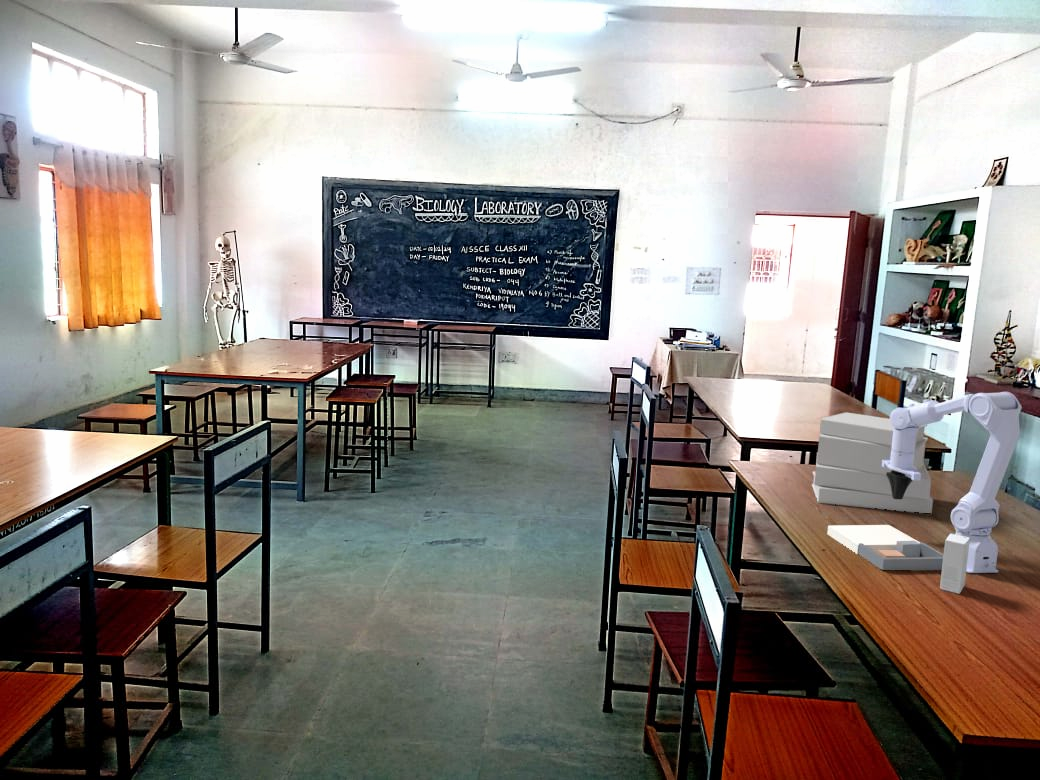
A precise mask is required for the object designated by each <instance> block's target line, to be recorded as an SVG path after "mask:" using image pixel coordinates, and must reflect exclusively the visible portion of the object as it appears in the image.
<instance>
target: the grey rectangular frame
mask: <svg viewBox="0 0 1040 780" xmlns="http://www.w3.org/2000/svg"><path fill="white" fill-rule="evenodd" d="M919 542H920V541H919ZM920 544H921V549H920V554H922V555H923V556H922V555H921V556H922V557H917V558H884V557H882V556H881V555H879V554H878V553H876V552H875V551H873V550H872V549H870V548H868V547H867V546H865V545H864V544H862V543H859V548H858V554H859V555H860V556H859V555H858V554H857V555H858V556H859V557H861V556H862V557H864V558H865V559H867V560H868V561H870V562H871V563H872V565H873V564H874V565H875V566H874V565H873V566H874V567H876V566H877V567H879V568H880V569H882V570H911V571H942V565H943V556H944V553H943V552H941V551H939V550H937V549H936V548H933V547H931V546H930V545H928V544H927V543H925V542H922V541H921V542H920ZM924 556H925V557H924ZM862 557H861V558H862ZM864 558H863V559H864ZM865 559H864V560H865ZM867 560H866V561H867ZM868 561H867V562H868ZM870 562H869V563H870ZM871 563H870V564H871ZM877 567H876V568H877ZM879 568H878V569H879ZM880 569H879V570H880ZM882 570H881V571H882Z"/></svg>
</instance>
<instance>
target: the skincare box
mask: <svg viewBox="0 0 1040 780" xmlns="http://www.w3.org/2000/svg"><path fill="white" fill-rule="evenodd" d="M955 534H956V533H949V535H947V537H946V539H945V540H944V548H943V554H944V556H943V565H942V570H941V575H940V584H939V589H940V590H943V591H946V592H950V593H953V594H958V595H959V594H961V592H962V590H963V589H964V587H965V584H966V576H967V575H966V574H967V572H966V568H967V560H968V551H969V543H970V538H969V537H965V536H960V535H955Z"/></svg>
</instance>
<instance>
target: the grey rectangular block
mask: <svg viewBox="0 0 1040 780" xmlns="http://www.w3.org/2000/svg"><path fill="white" fill-rule="evenodd" d="M918 542H919V541H918ZM918 542H916V541H897V544H896V550H897V551H899V552H900V553H902V554H903V555H905V558H917V557H920V556H921V555H920V549H921V544H920V543H918Z"/></svg>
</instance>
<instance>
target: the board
mask: <svg viewBox="0 0 1040 780" xmlns="http://www.w3.org/2000/svg"><path fill="white" fill-rule="evenodd" d="M826 534H827V535H828V536H830V537H831V538H832V539H833V540H835V541H837V542H838V543H839V544H841V545H842V544H843V545H842V546H844V547H845V546H846V548H847V549H848V548H849V549H848V550H850V551H851V550H852V552H853V553H854V552H855V553H854V554H856V555H858V548H859V543H862V544H864V545H865V546H867V547H868V548H870V549H872V550H873V551H875V552H876V553H877V550H896V544H897V541H916V542H918V543H920V541H918V540H917V539H914V538H913V537H911V536H909V535H908V534H906V533H904V532H902V531H900V530H899V529H897V528H895V527H894V526H892V525H890V524H863V525H862V524H855V525H854V524H853V525H849V524H848V525H847V524H845V525H843V524H841V525H840V524H839V525H838V524H837V525H835V524H834V525H828V526H827V533H826Z"/></svg>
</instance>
